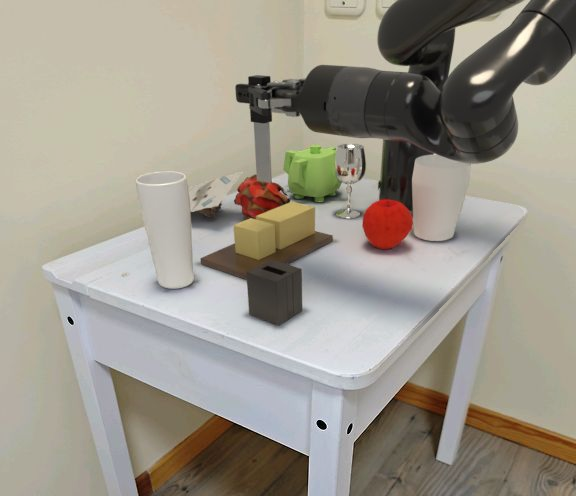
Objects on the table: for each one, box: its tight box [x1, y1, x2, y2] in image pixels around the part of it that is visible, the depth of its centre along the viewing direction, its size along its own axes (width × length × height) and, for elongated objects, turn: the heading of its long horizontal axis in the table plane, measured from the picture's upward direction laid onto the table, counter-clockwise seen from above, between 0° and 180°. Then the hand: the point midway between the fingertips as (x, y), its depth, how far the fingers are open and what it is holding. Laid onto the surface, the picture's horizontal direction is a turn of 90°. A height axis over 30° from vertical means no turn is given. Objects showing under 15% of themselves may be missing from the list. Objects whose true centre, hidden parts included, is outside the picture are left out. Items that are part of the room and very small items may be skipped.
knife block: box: [246, 260, 303, 326], centre depth 72 cm, size 5×5×6 cm
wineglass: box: [334, 143, 367, 219], centre depth 102 cm, size 6×6×12 cm
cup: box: [412, 154, 472, 242], centre depth 92 cm, size 9×9×12 cm
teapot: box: [283, 143, 343, 203], centre depth 113 cm, size 12×12×10 cm
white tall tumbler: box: [135, 170, 195, 290], centre depth 78 cm, size 7×7×15 cm
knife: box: [247, 74, 273, 183], centre depth 78 cm, size 2×3×14 cm
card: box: [188, 170, 244, 218], centre depth 105 cm, size 11×15×5 cm
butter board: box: [200, 230, 334, 281], centre depth 91 cm, size 20×11×1 cm, turn 140°
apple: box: [362, 199, 414, 250], centre depth 90 cm, size 8×8×7 cm
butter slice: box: [233, 217, 276, 260], centre depth 87 cm, size 4×5×4 cm
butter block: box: [256, 201, 316, 250], centre depth 92 cm, size 9×5×4 cm, turn 141°
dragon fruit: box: [233, 173, 291, 220], centre depth 101 cm, size 8×8×12 cm
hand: (243, 91), depth 77 cm, fingers closed on knife, 2 cm apart
